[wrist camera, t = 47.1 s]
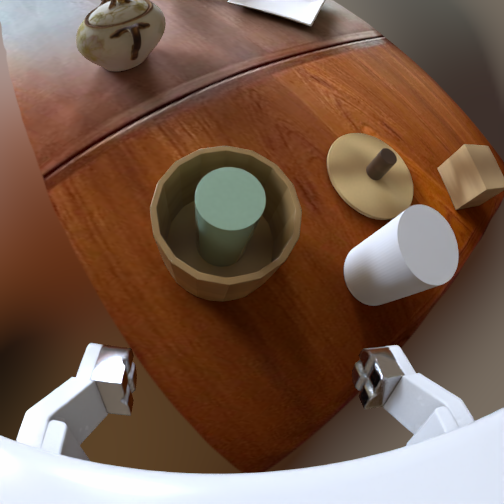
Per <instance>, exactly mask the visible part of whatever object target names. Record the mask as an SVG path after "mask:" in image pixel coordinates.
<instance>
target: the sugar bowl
mask: <svg viewBox="0 0 504 504" xmlns="http://www.w3.org/2000/svg"><path fill="white" fill-rule="evenodd" d="M101 1H102V2H101V4H100V5H99V7H97V8H95V9H94V10H92V11H91V12H90V13H89V14H88V15H87V16H86V18H85V19H84V21H83V22H82V23H81V25H80V26H79V28H78V31H77V34H76V45H77V48H78V50H79V52H80V53H81V54H82V55H83V56H84V57H85V58H86V59H88V60H89V61H91V62H93V63H95V64H97V65H99V66H101V67H103V68H104V69H106V70H109V71H123V70H127V69H130V68H133V67H135V66H137V65H139V64H141V63H142V62H143V61H144V60H145V59H146V58H147V56H148V55H149V53H150V52H151V51H152V50H153V49H154V48H155V47H156V45H157V44H158V42H159V41H160V39H161V37H162V36H163V33H164V30H165V17H164V14H163V12H162V11H161V9H160V8H159V7H158V6H157V5H155V4H154V3H152V2H151V1H150V0H101Z"/></svg>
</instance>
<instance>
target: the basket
mask: <svg viewBox="0 0 504 504" xmlns="http://www.w3.org/2000/svg"><path fill="white" fill-rule="evenodd" d="M223 167H234V168H239V169H242V170H245V171H247V172H249V173H250V174H252V175H253V176H254V177H256V178H257V179H258V181H259V182H260V183H261V185H262V187H263V189H264V191H265V195H266V205H265V209H264V212H263V214H262V216H261V218H260V221H259V223H258V225H257V227H256V229H255V232H254V234H253V236H252V238H251V241H250V243H249V245H248V247H247V249H246V252H245V254H244V255H243V257H242V258H241V259H240V260H239V261H238V262H236V263H235V264H233V265H230V266H225V267H219V266H214V265H211V264H209V263H207V262H206V261H205V260H204V259H203V258H202V257H201V256H200V254H199V253H198V251H197V247H196V234H195V191H196V188H197V186H198V184H199V182H200V181H201V179H202V178H203V177H204V176H205V175H207V174H208V173H210V172H211V171H213V170H216V169H219V168H223ZM150 214H151V222H152V229H153V236H154V238H155V241H156V244H157V246H158V249H159V251H160V254H161V256H162V259H163V261H164V264H165V266H166V267H167V269H168V270H169V272H170V274H171V275H172V277H173V278H174V279H175V281H176V282H177V284H178V285H180V286H181V287H183V288H184V289H185V290H187V291H188V292H190V293H191V294H193V295H195V296H197V297H199V298H203V299H207V300H211V301H220V302H224V301H230V300H235V299H239V298H242V297H246V296H247V295H249V294H250V293H252V292H253V291H255V290H256V289H257V288H259V287H260V286H262V285H263V284H264V283H265V282H266V281H267V280H268V279H269V278H270V277H271V276H272V275H273V274H274V273H275V272H276V270H277V269H278V268H279V267H280V266H281V265H282V264H283V263H284V262H285V261H286V259H287V257H288V256H289V254H290V252H291V251H292V249H293V247H294V245H295V244H296V242H297V240H298V238H299V235H300V225H301V214H302V210H301V206H300V203H299V200H298V197H297V194H296V191H295V188H294V186H293V184H292V183H291V181H290V180H289V179H288V178H287V177H286V175H285V174H284V173H283V172H282V171H281V169H280V168H279V167H278V166H277V165H276V164H275V163H273V162H271V161H269V160H268V159H266V158H264V157H263V156H261V155H259V154H257V153H256V152H254V151H251V150H246V149H241V148H236V147H231V146H220V147H212V148H205V149H199V150H197V151H195V152H193V153H191V154H189V155H187V156H185V157H183V158H182V159H180V160H178V161H176V162H175V163H174V164H173V165H172V166H171V167H170V168H169V170H168V171H167V172H166V173H165V174H164V175H163V177H162V178H161V179H160V180H159V181H158V183H157V186H156V189H155V193H154V196H153V199H152V202H151V206H150Z"/></svg>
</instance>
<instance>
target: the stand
mask: <svg viewBox="0 0 504 504" xmlns="http://www.w3.org/2000/svg"><path fill="white" fill-rule="evenodd" d="M437 169H438V171H439V173H440V175H441V177H442V179H443V181H444V184H445V186H446V188H447V190H448V193H449V195H450V197H451V200H452V202H453V205H454V207H455V209H456V210H459V209H464V208H469V207H475V206H480V205H481V204H483V203H484V202H486V201H488V200H489V199H491V198H492V197H494V196H495V195H497V194H498V193H500V192H501V191H503V190H504V177H503V175H502V172H501V170H500V168H499V166H498V164H497V162H496V160H495V158H494V156H493V154H492V152H491V150H490V149H489V147H488V146H481V145H467V144H464V145H463V146H462V147H461V148H460V149H459V150H458V151H456V152H455V153H454V154H453V155H452V156H451V157H450V158H449V159H447V160H446V161H445V162H444V163H443V164H442V165H441V166H439V167H438V168H437Z"/></svg>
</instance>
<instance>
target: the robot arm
mask: <svg viewBox="0 0 504 504" xmlns="http://www.w3.org/2000/svg"><path fill="white" fill-rule="evenodd" d="M359 358H360V360H359V361H358V362H357V363H356V364H355V365H354V367H353V370H352V381H353V384H354V386H355V388H356V389H358V390H359V391H360V394H359V398H360V400H361V403H362V405H363V408H364V409H370V408H376V407H383V408H384V409H385V410H386V411H387V412H389V413H390V414H391V415H392V416H393V417H394V418H395V419H397V420H398V421H399V422H400V423H401V424H402V425H403V426H404V427H406V428H407V429H408V430H409V431H410V432H411V433H413V434H414V435H413V436H412V438H411V439H410V440H409V441H408V442H407V444H406V446H405V447H402V448H399V449H395V450H392V451H388V452H384V453H380V454H376V455H372V456H368V457H364V458H359V459H354V460H350V461H344V462H339V463H334V464H328V465H322V466H315V467H309V468H301V469H293V470H284V471H272V472H258V473H237V474H196V473H175V472H162V471H150V470H142V469H133V468H126V467H119V466H113V465H107V464H101V463H96V462H91V461H89V459H88V457H87V456H86V454H85V453H84V451H83V450H82V448H81V447H80V444H81V443H82V442H83V441H84V440H85V439H86V437H88V435H89V434H90V433H91V432H92V431H93V430H94V429H95V428H96V427H97V426H98V425H99V423H100V422H101V421H102V420H103V419H104V418H105V417H106V416H107V415H108V414H107V413H112V414H120V415H131V412H132V406H133V397H132V393H133V392H134V391H135V389H136V379H137V374H136V366H135V364H134V363H133V362H132V361H133V351H132V349H131V348H126V347H117V346H110V345H100V344H94V343H90V344H89V345H88V346H87V349H86V351H85V354H84V356H83V359H82V362H81V365H80V367H79V370H78V373H77V376H76V378H75V377H71V378H70V379H69V380H67V381H66V382H65V383H63V384H62V385H61V386H59V387H58V388H57V389H55V390H54V391H53V392H51V393H50V394H49V395H48V396H46V397H45V398H44V399H42V400H41V401H40V402H38V403H37V404H36V405H34V406H33V407H32V408H30V409H29V410H28V411H27V412H26V414H25V417H24V419H23V422H22V425H21V428H20V431H19V434H18V436H17V439H16V441H14V440H11V439H8V438H6V437H3V436H0V504H504V407H503V408H502V409H499V410H497V411H496V412H494V413H491V414H489V415H487V416H485V417H483V418H481V419H478V420H476V421H474V419H473V417H472V415H471V414H470V412H469V411H468V409H467V407H466V406H465V404H464V402H463V401H462V399H460V398H459V397H457V396H455V395H454V394H452V393H451V392H449V391H447V390H446V389H444V388H443V387H441V386H439V385H437V384H436V383H435V382H433V381H431V380H430V379H428V378H426V377H425V376H423V375H422V374H420V373H416V372H415V371H414V369H413V367H412V366H411V364H410V362H409V361H408V359H407V357H406V356H405V354H404V353H403V351H402V349H401V348H400V347H399V346H398V345H392V346H386V347H385V346H383V347H374V348H364V349H363V350H361V352H360V354H359Z"/></svg>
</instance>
